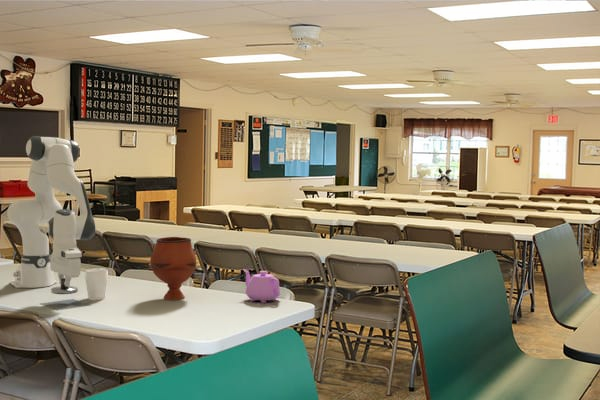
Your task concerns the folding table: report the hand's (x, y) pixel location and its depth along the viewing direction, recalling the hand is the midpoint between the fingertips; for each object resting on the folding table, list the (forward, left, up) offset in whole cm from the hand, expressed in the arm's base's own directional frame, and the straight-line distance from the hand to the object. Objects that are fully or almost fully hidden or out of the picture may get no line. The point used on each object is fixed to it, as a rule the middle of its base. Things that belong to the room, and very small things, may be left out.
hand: (64, 285), depth 278 cm
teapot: (+45, +65, -8) cm, 79 cm away
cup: (-1, +15, -8) cm, 17 cm away
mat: (+2, 0, -8) cm, 8 cm away
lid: (0, 0, -3) cm, 2 cm away
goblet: (+18, +40, -8) cm, 44 cm away
